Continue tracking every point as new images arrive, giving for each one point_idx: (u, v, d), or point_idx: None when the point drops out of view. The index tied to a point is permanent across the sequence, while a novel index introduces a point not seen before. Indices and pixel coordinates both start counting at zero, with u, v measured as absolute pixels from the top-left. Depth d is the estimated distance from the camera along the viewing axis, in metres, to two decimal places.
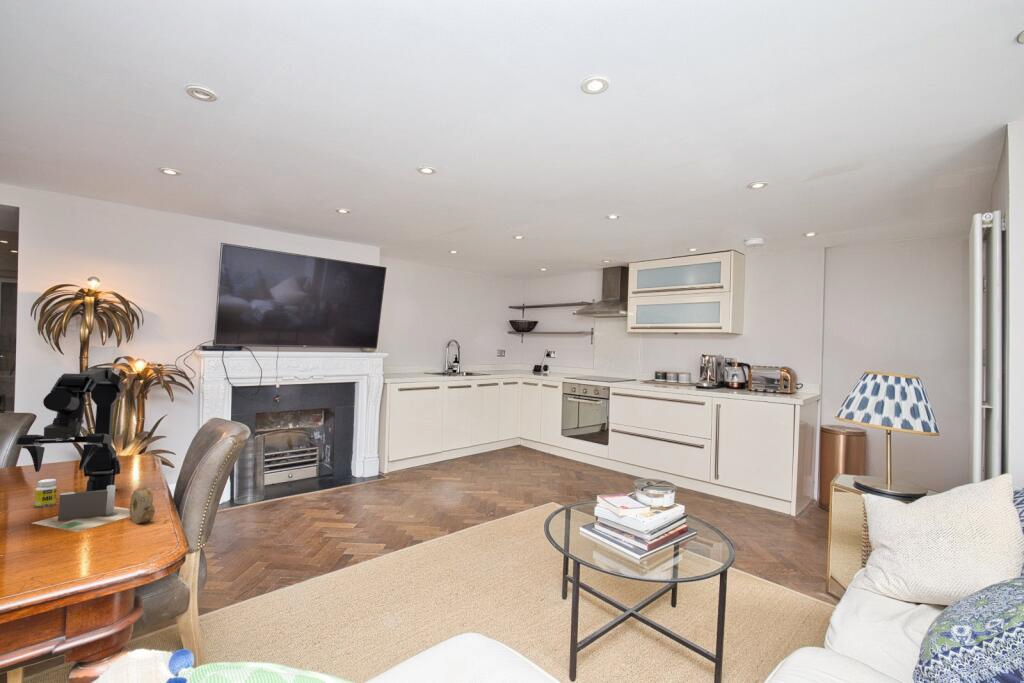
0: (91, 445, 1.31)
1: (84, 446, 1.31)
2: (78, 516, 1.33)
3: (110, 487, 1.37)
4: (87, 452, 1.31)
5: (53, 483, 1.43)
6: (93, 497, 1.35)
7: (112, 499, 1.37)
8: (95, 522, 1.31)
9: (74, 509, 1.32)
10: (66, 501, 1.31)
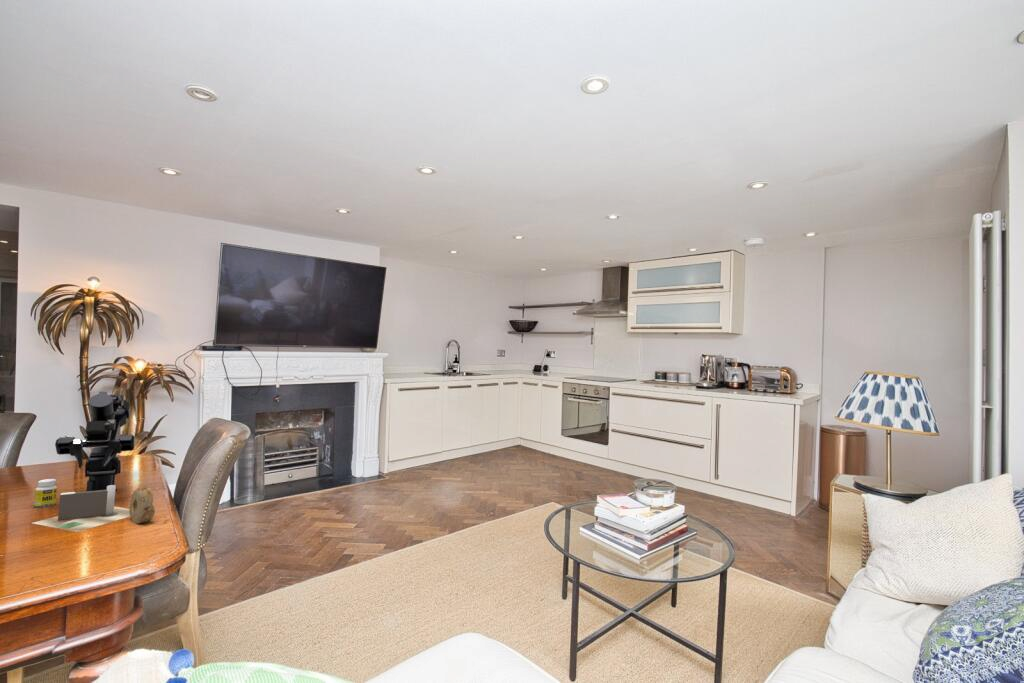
0: (115, 442, 1.47)
1: (109, 444, 1.46)
2: (78, 516, 1.33)
3: (110, 487, 1.37)
4: (111, 450, 1.46)
5: (53, 483, 1.43)
6: (93, 497, 1.35)
7: (112, 499, 1.37)
8: (95, 522, 1.31)
9: (74, 509, 1.32)
10: (66, 501, 1.31)
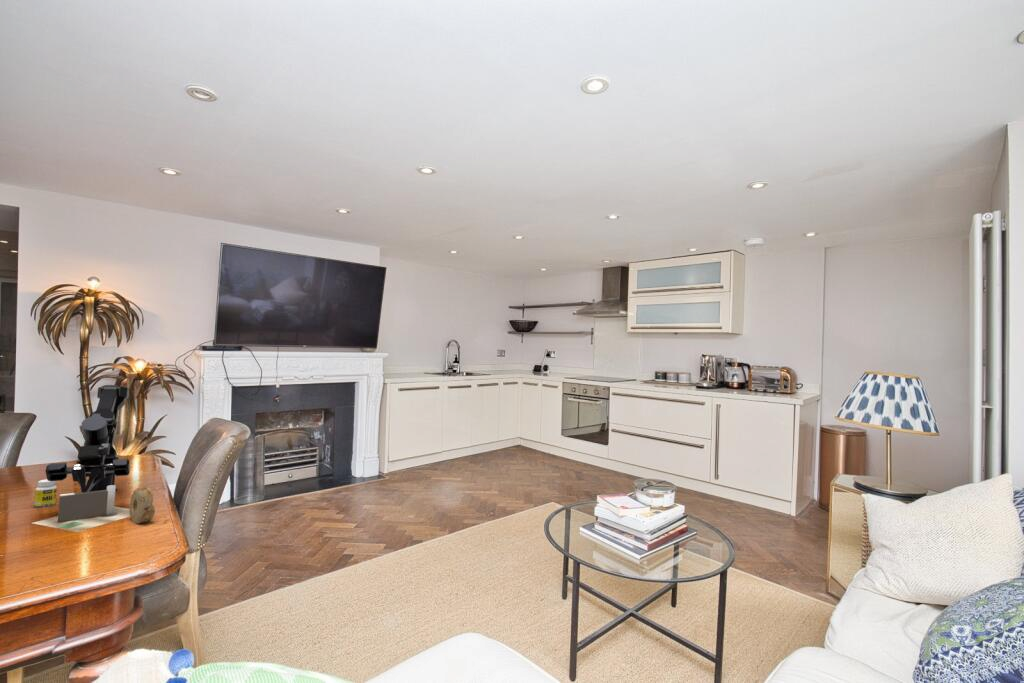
0: (99, 468, 1.38)
1: (91, 470, 1.37)
2: (78, 517, 1.32)
3: (111, 487, 1.37)
4: (93, 477, 1.37)
5: (53, 483, 1.43)
6: (93, 498, 1.34)
7: (112, 499, 1.37)
8: (95, 522, 1.31)
9: (74, 510, 1.31)
10: (66, 502, 1.30)
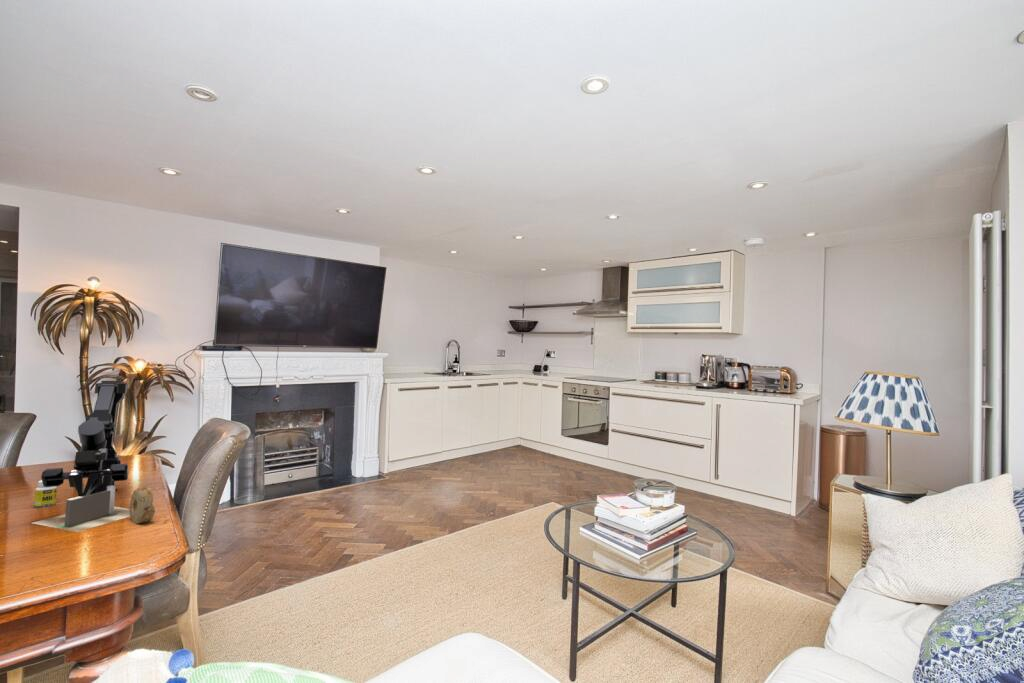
0: (96, 474, 1.35)
1: (89, 476, 1.34)
2: (86, 519, 1.30)
3: (113, 487, 1.37)
4: (91, 483, 1.34)
5: None
6: (98, 499, 1.34)
7: (114, 498, 1.38)
8: (95, 522, 1.31)
9: (82, 513, 1.30)
10: (76, 506, 1.28)
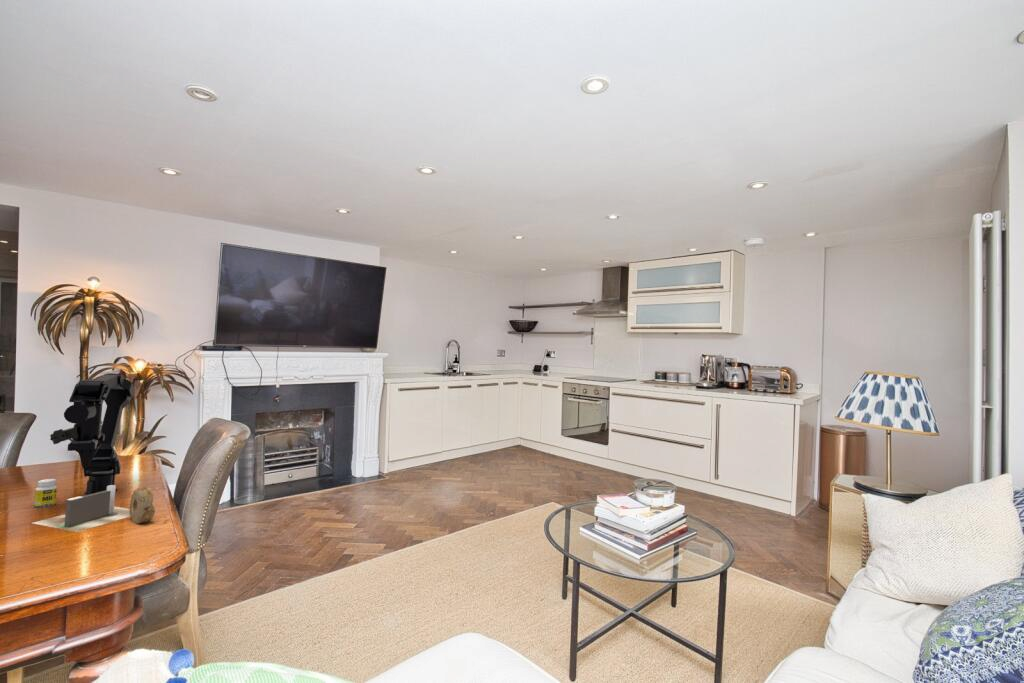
0: None
1: None
2: (86, 519, 1.30)
3: (113, 487, 1.37)
4: None
5: (53, 483, 1.43)
6: (98, 499, 1.34)
7: (114, 498, 1.38)
8: (95, 522, 1.31)
9: (83, 513, 1.30)
10: (76, 506, 1.28)
